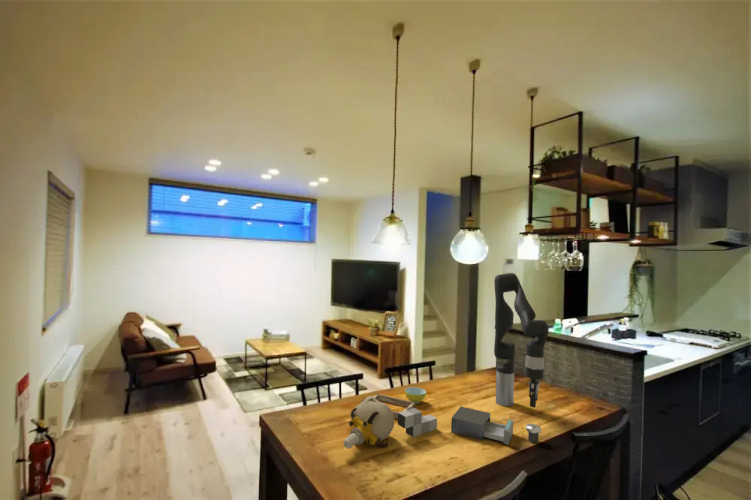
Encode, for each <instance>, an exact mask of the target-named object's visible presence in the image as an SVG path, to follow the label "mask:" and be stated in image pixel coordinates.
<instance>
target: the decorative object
mask: <svg viewBox="0 0 751 500" xmlns="http://www.w3.org/2000/svg"><path fill="white" fill-rule="evenodd" d="M373 397H374V395H371V396H370V395H368V396H366V397H363V398H362V399H361V400H360V401H361V402H360V403H359V404H357V405H355V407H354V408H353V409H352V410H351V411H350V419H351V420H350V421H349V422H348V425H349V427H353V428H352V429H351V430H350V434H349V435H348V436H347V437H346V438H345V439H344V440H343V442H342V443H343V448H346V449H348V450H349V449H351V448H353V447H354V446H355V445H362V444H363V443H364V442H365V441H366V444H367V445H371V446H376V447H378V448H386V447H387V446H389V440H388V437H389V436H390V435H391V433H392V432H393V429H394V425H395V419H394V414H393V411H394V410H392V408H391V407H390V406H389V405H387V404H386V403H385V402H384V403H383V402H382V401H379V400H376V399H375V398H373ZM385 439H386V441H385V442H382V441H384V440H385Z"/></svg>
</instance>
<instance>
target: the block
mask: <svg viewBox="0 0 751 500" xmlns="http://www.w3.org/2000/svg"><path fill="white" fill-rule="evenodd" d="M402 411H403V412H402ZM402 411H399V413H398V419H397V425H398V426H400V427H402V428H403V429H405V434H407V435H408V436H410V437H411V438H416V437H418V436H422V435H423V434H427V433H430V432H432V431H436V430H438V417H435V416H434V415H432V414H427V415H424V416H423V412H422V411H420V410H418V409H417V408H416V407H415V408H413V409H410V410H406V411H404V410H402Z"/></svg>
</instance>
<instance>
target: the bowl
mask: <svg viewBox="0 0 751 500" xmlns="http://www.w3.org/2000/svg"><path fill="white" fill-rule="evenodd" d="M404 393H405V397H406V398H407V399H408V401H411V402H415V405H418V404H420V402H422V401H423V400H424V399H425V398H426V396H427V391H426V389H424V388H422V387H416V386H415V387H413V386H411V387H406V388H405V389H404Z"/></svg>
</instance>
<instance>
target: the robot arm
mask: <svg viewBox="0 0 751 500" xmlns="http://www.w3.org/2000/svg"><path fill="white" fill-rule="evenodd" d="M510 292H514V293H515V298H514V303H513V306H514V311H515V312H516V314H517V316H518V318H519V319H520V324H521V328H522V329H521V330H522V332H523V334H524V335H525V336H527V337H531V338H532V337H533V338H534V340H530V341H528V342H526V345H525V346H526V347H525V349H526V350H525V361H524V364H525V367H524V368H525V369H524V375H525V377H527V378H528V379H529V381H528V392H529V393H528V397H529V407H531V408H536V407H537V404H536V403H537V401H538V400H539V399H538V398H539V397H538V394H539V389H540V380H543V379H544V378H545V377H544V376H545V359H544V356H545V355H544V354H545V353H544V352H545V351H544V350H545V345H546V341H547V339H548V335H549V331H550V330H549V325H548V323H547V322H546V321H545V320H542V319H541V320H540V319H538V320H537V319H536V316H537V315H536V312H535V310H534V309H533V307H532V305H531V304H530V303H529V300H528V299H527V297H526V294H525V291H524V289H523V286H522V284H521V281H520V279H519V277H518V276H517V275H516V274H515V273H513V272H512V273H510V272H509V273H502V274H497V275H495V277H494V296H495V308H494V309H495V313H494V326H495V327H494V329H495V330H494V344H493V346H494V347H493V351H494V352H493V353H494V357H495V359H498V360H499V359H501V360H506V362H503V363H498V364H497V366H496V370H495V373H496V375H495V404H497V405H500V406H503V407H512V406H514V399H515V398H514V397H515V395H514V392H515V357H516V345H515V344H514V343H513V342H508V341H502V340H503V338H504V337H505V336H506V335H507V333H508V332H509V331H510V330H511V329H512V328H513V325H514V316H515V314H514V311H513V309H512V307H511V306H510V305H509V304H508V303H507V301H506V300H505V297H504V293H510Z"/></svg>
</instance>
